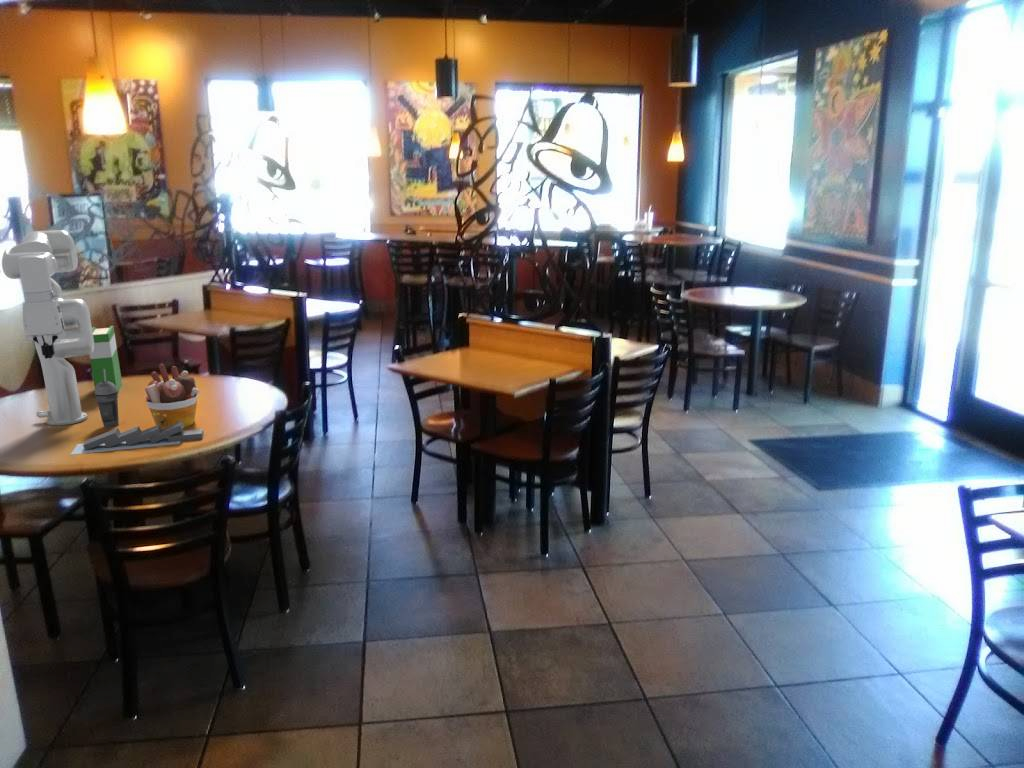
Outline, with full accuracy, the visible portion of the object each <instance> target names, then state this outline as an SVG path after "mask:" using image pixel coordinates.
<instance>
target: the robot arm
mask: <svg viewBox="0 0 1024 768" xmlns="http://www.w3.org/2000/svg"><path fill="white" fill-rule="evenodd" d="M75 246H76V245H75V242H74V239H73V237H72V236H71V234H70V233H69V232H68V231H66V230H63V229H53V230H35V231H31V232H28V233H27V234H26V235H24V237H23V240H22V243H19V244H16V245H13V246H10V247H8V248H7V249H5V250H4V252H3V253H2V257H1V267H2V272H3V274H4V275H5V276H6V277H7V278H9V279H12V280H13V279H14V280H16V279H17V280H18V279H20V282H21V287H22V292H23V298H24V302H23V303H22V324H23V325H22V326H23V331H24V334H25V337H24V339H25V340H26V341H27V340H28V341H34V347H35V349H36V353H37V355H38V358H39V362H40V365H41V370H42V374H43V381H44V386H45V390H46V391H45V392H46V398H47V402H48V403H47V404H48V409H46V410H37V411H36V413H35V414H36V417H39V418H46V420H45V422H46V424H47V425H50V426H66V425H72V424H76V423H80V422H83V421H85V420H86V419H88V417H89V416H88V413H87V412H85V411H82V405H81V399H80V393H79V392H80V391H79V387H78V382H77V375H76V370H75V368H74V366H73V365H72V364H71V363H70V362H69V361H67V360H66V358H73V357H83V356H88V355H89V354H91V353H92V352H93V351H94V339H93V332H92V322H91V321H92V320H91V314H90V309H89V306H88V304H87V303H86V301H85V300H83V299H81V298H65V299H64V298H63V291H62V287H61V286H60V285H59V283H58V282H56V280H55V279H53V278H52V276H53V275H54V274H56V273H68V272H69V273H70V272H74V271H75V270H77V268H78V265H79V258H78V253H77V250H76V247H75ZM71 327H72V328H71ZM89 356H90V355H89Z"/></svg>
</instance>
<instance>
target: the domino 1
mask: <svg viewBox="0 0 1024 768" xmlns="http://www.w3.org/2000/svg"><path fill="white" fill-rule="evenodd" d="M120 433H121V431H120V429H119V427H117V428H114V429H112V430H109V431H107V432H104V433H101V434H99V435H97V436H94V437H91V438H88V439H86V440H85V441H84V443H82V444H83V447H84V448H85V450H88V449H91V448H93V447H96V446H99V445H101V444H104V443H106V442H109V441H111V440H114V439H117V438H118V437H119V435H120Z"/></svg>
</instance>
